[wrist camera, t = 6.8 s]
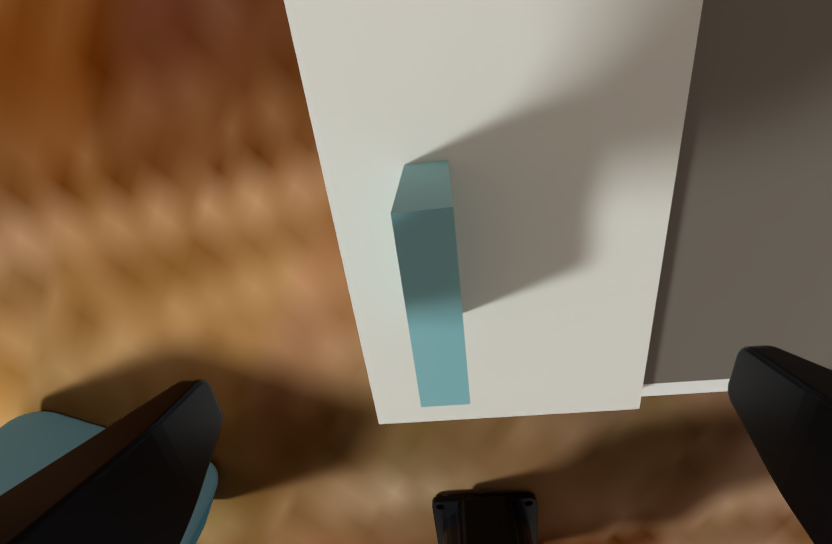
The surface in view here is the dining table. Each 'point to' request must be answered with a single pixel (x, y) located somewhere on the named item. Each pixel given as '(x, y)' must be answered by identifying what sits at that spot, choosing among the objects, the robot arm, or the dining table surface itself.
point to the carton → (749, 198)
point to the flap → (499, 192)
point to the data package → (57, 435)
